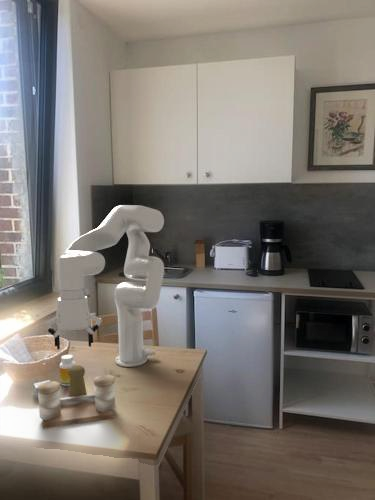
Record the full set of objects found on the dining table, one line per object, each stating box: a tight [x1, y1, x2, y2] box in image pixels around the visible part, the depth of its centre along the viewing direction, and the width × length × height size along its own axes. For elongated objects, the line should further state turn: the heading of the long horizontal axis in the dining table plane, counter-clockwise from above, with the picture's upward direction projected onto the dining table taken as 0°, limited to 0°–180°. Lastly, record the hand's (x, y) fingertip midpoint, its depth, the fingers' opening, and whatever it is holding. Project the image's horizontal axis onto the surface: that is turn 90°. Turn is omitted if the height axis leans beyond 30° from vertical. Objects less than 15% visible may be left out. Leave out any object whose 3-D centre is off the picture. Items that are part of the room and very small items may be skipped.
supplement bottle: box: [59, 354, 77, 387], centre depth 150 cm, size 5×5×10 cm
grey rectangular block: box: [33, 379, 50, 400], centre depth 142 cm, size 5×4×4 cm
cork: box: [68, 364, 88, 397], centre depth 138 cm, size 6×6×11 cm
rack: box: [38, 374, 116, 429], centre depth 129 cm, size 22×10×10 cm, turn 105°
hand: (74, 346), depth 136 cm, fingers open, 9 cm apart
